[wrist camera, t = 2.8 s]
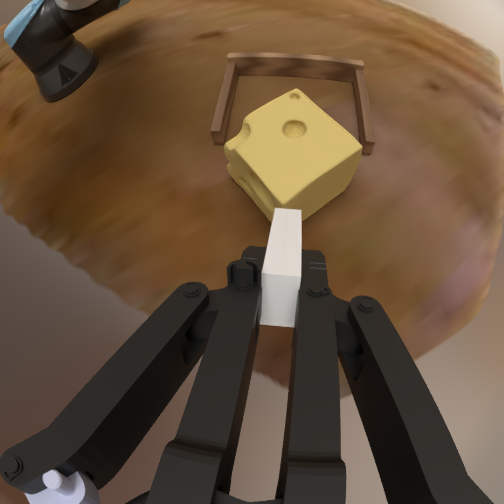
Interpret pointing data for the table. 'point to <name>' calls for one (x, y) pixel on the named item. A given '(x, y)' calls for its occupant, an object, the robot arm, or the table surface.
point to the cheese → (292, 156)
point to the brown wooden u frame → (298, 68)
